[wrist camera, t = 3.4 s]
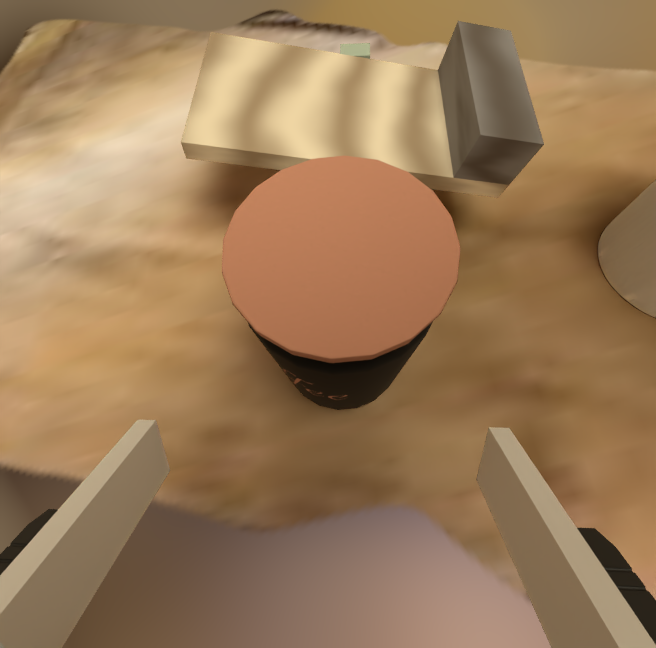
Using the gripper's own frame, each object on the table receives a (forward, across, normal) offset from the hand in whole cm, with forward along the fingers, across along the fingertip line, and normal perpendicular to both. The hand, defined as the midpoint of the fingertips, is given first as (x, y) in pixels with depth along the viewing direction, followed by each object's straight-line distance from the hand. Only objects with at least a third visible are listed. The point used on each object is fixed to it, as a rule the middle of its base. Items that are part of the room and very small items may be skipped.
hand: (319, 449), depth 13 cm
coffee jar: (+18, +1, -5) cm, 18 cm away
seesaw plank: (+26, +1, +14) cm, 30 cm away
